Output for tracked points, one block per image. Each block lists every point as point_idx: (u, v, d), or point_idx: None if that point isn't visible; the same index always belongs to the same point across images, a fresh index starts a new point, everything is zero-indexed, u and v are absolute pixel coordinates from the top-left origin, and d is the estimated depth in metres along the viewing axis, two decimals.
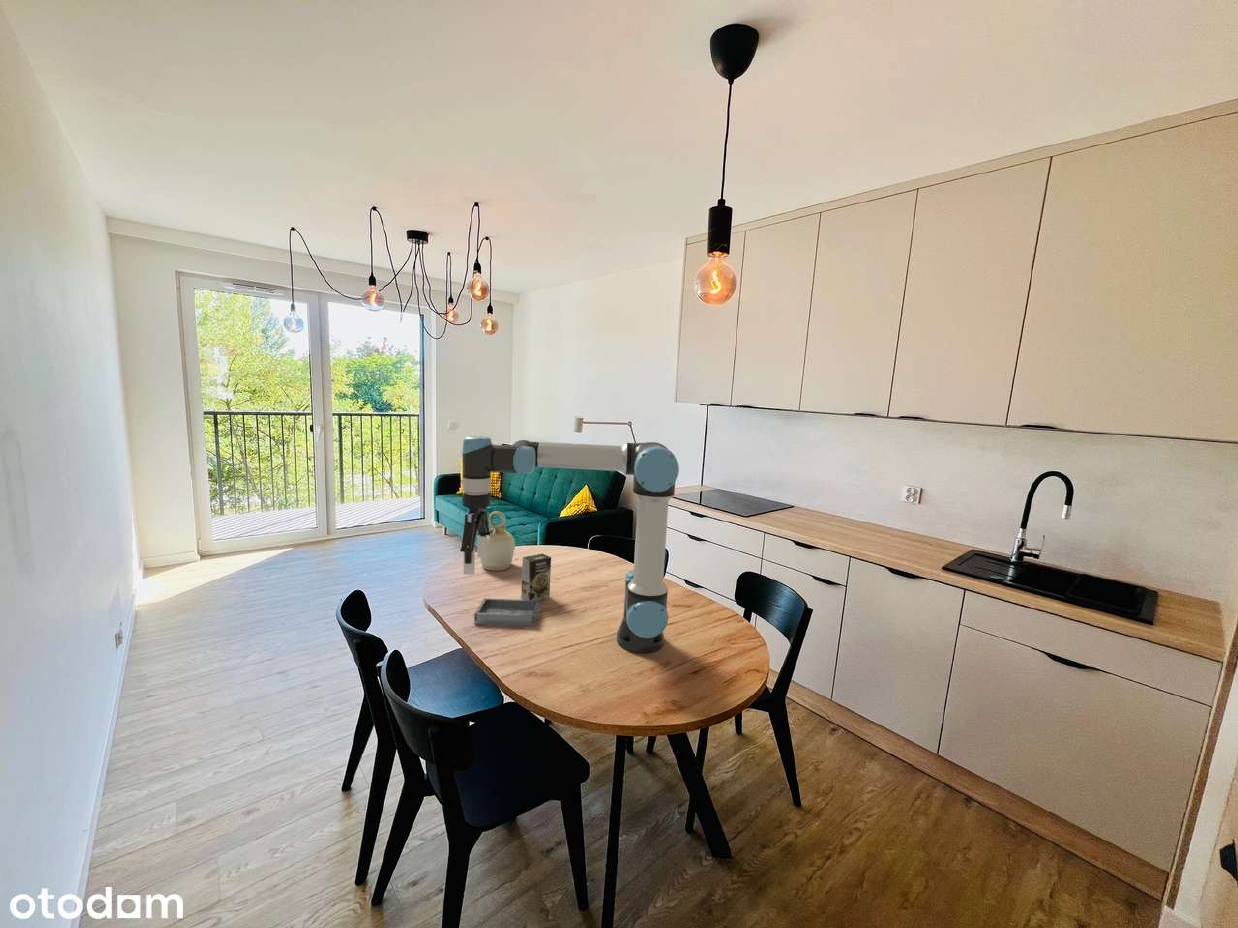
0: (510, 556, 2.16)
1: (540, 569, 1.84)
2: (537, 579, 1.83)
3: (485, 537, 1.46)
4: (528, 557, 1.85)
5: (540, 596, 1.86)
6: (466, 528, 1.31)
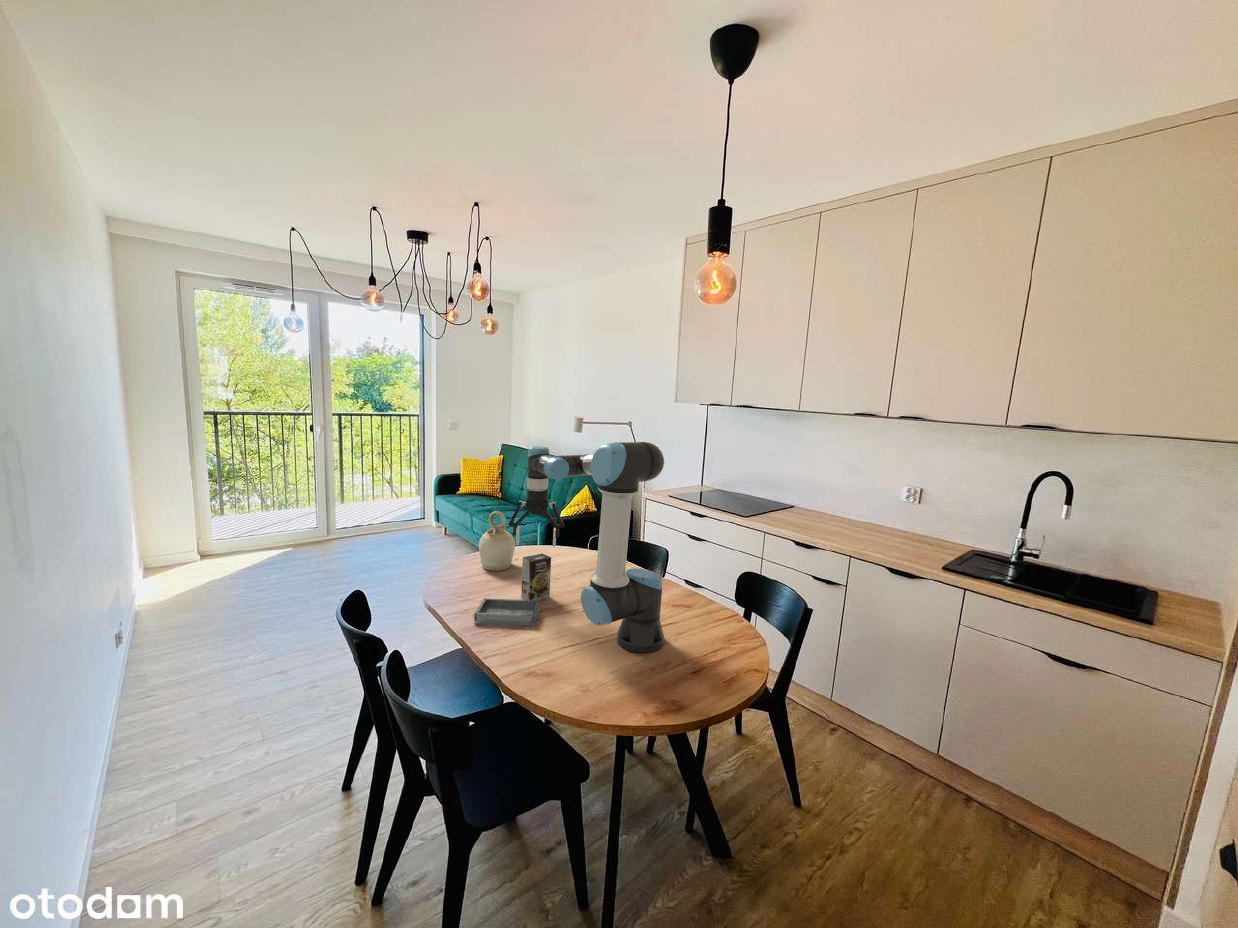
0: (510, 556, 2.16)
1: (540, 569, 1.84)
2: (537, 579, 1.83)
3: (553, 530, 1.83)
4: (528, 557, 1.85)
5: (540, 596, 1.86)
6: None
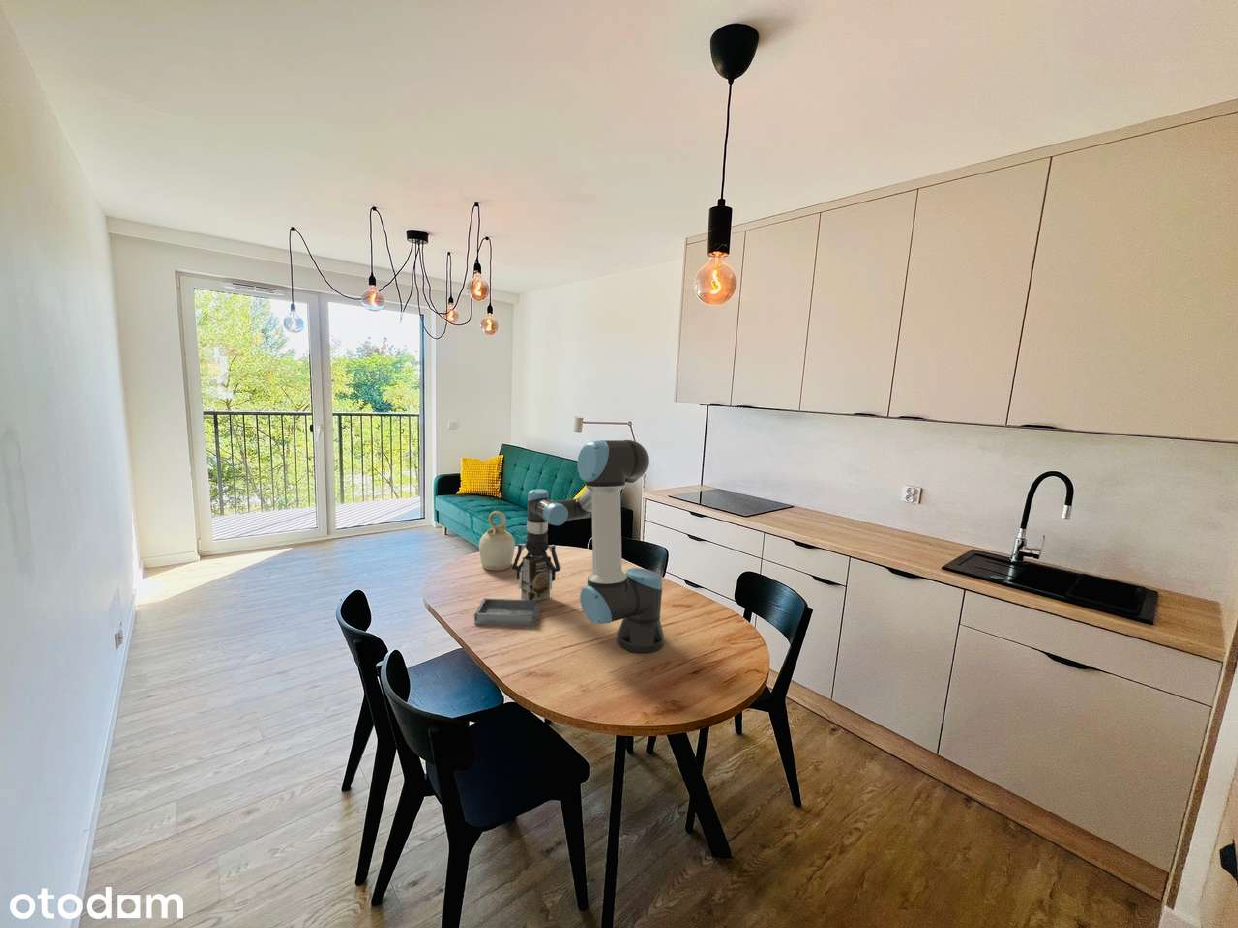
0: (510, 556, 2.16)
1: (540, 569, 1.84)
2: (537, 579, 1.83)
3: (550, 573, 1.86)
4: None
5: (540, 596, 1.86)
6: None
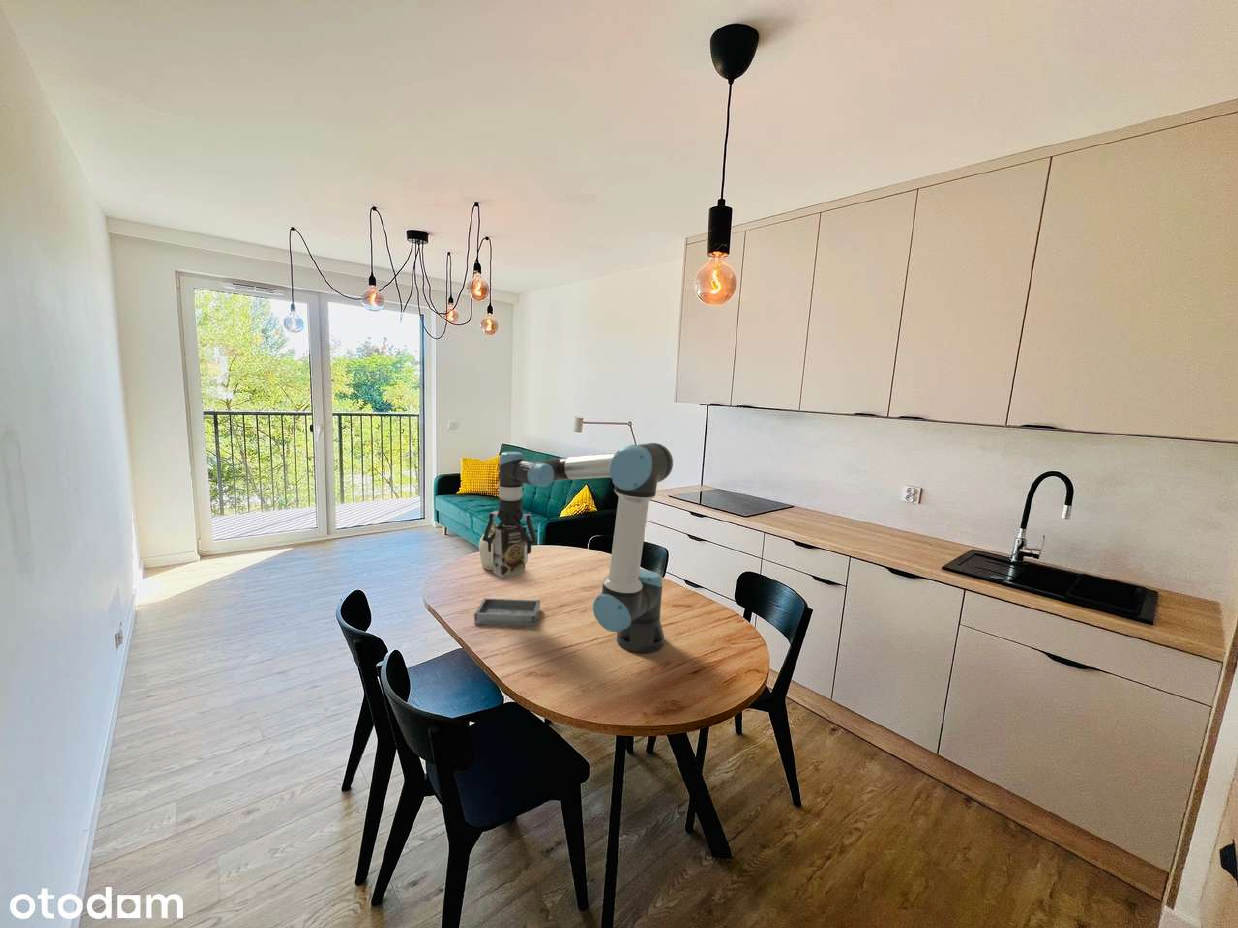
0: None
1: (514, 540, 1.65)
2: (510, 551, 1.65)
3: (525, 545, 1.67)
4: None
5: (514, 571, 1.67)
6: None
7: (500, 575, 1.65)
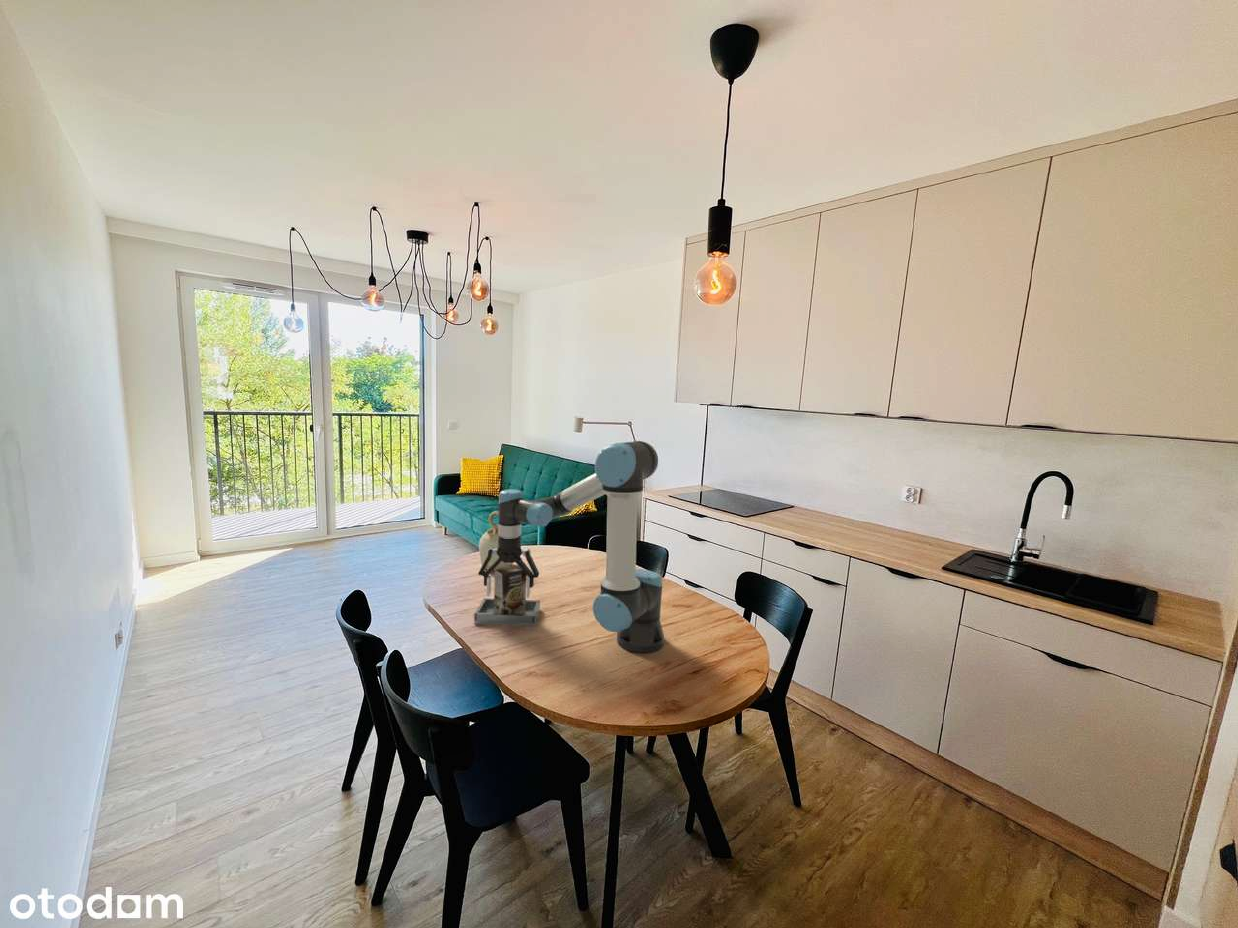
0: None
1: (514, 583, 1.67)
2: (511, 593, 1.67)
3: None
4: (501, 570, 1.68)
5: (515, 612, 1.69)
6: None
7: None
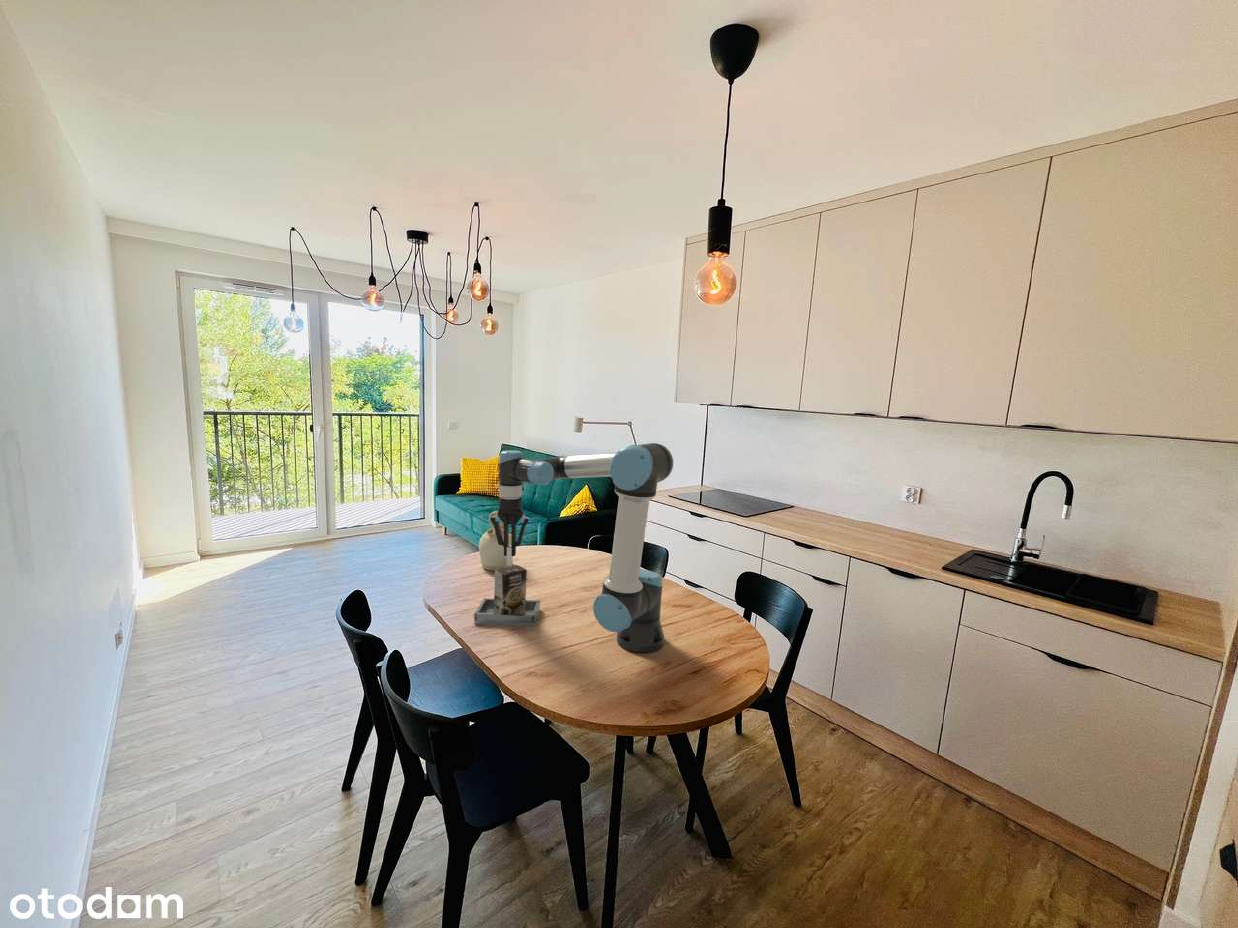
0: None
1: (514, 583, 1.67)
2: (511, 593, 1.67)
3: None
4: (501, 570, 1.68)
5: (515, 612, 1.69)
6: None
7: None
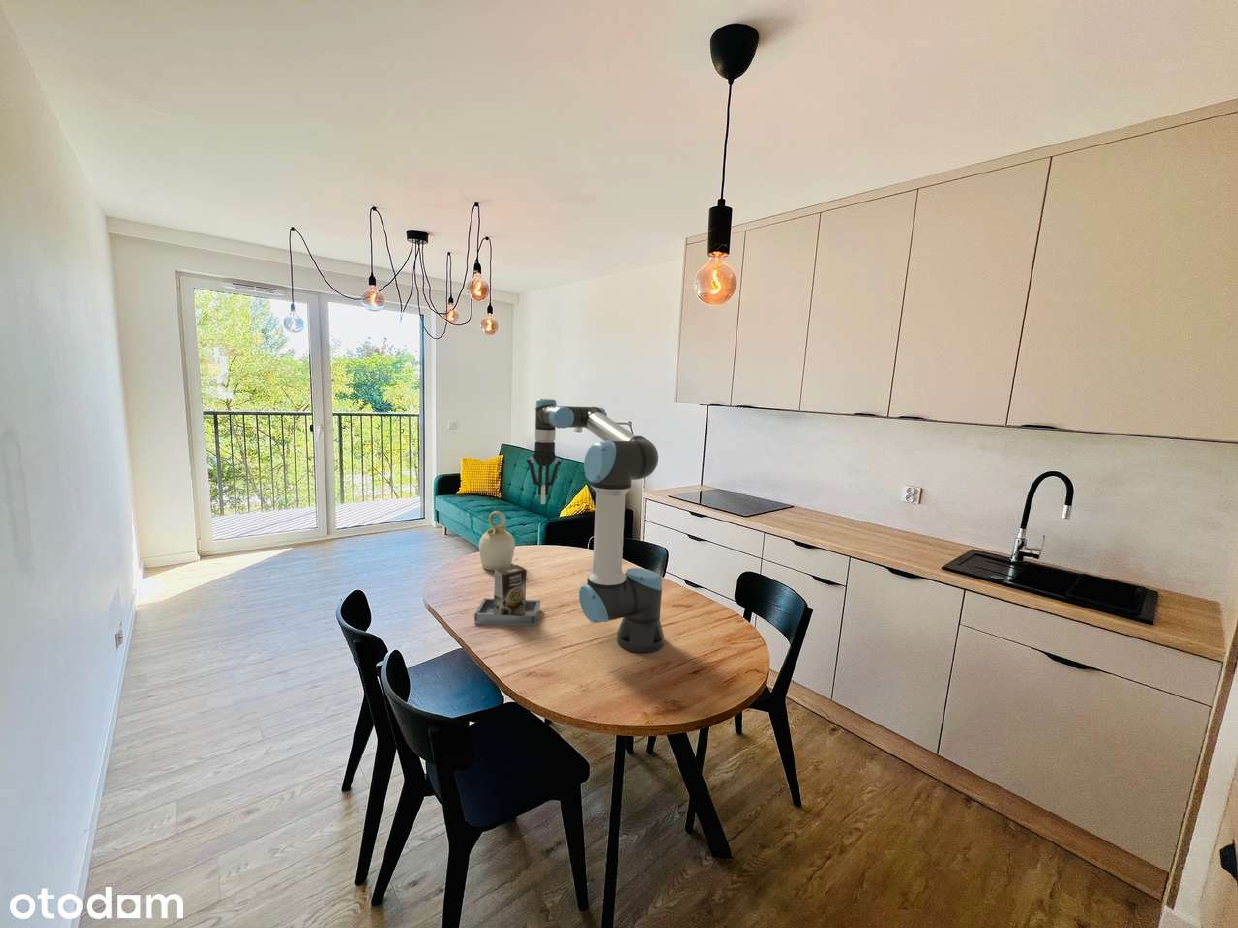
0: (510, 556, 2.16)
1: (514, 583, 1.67)
2: (511, 593, 1.67)
3: None
4: (501, 570, 1.68)
5: (515, 612, 1.69)
6: None
7: None
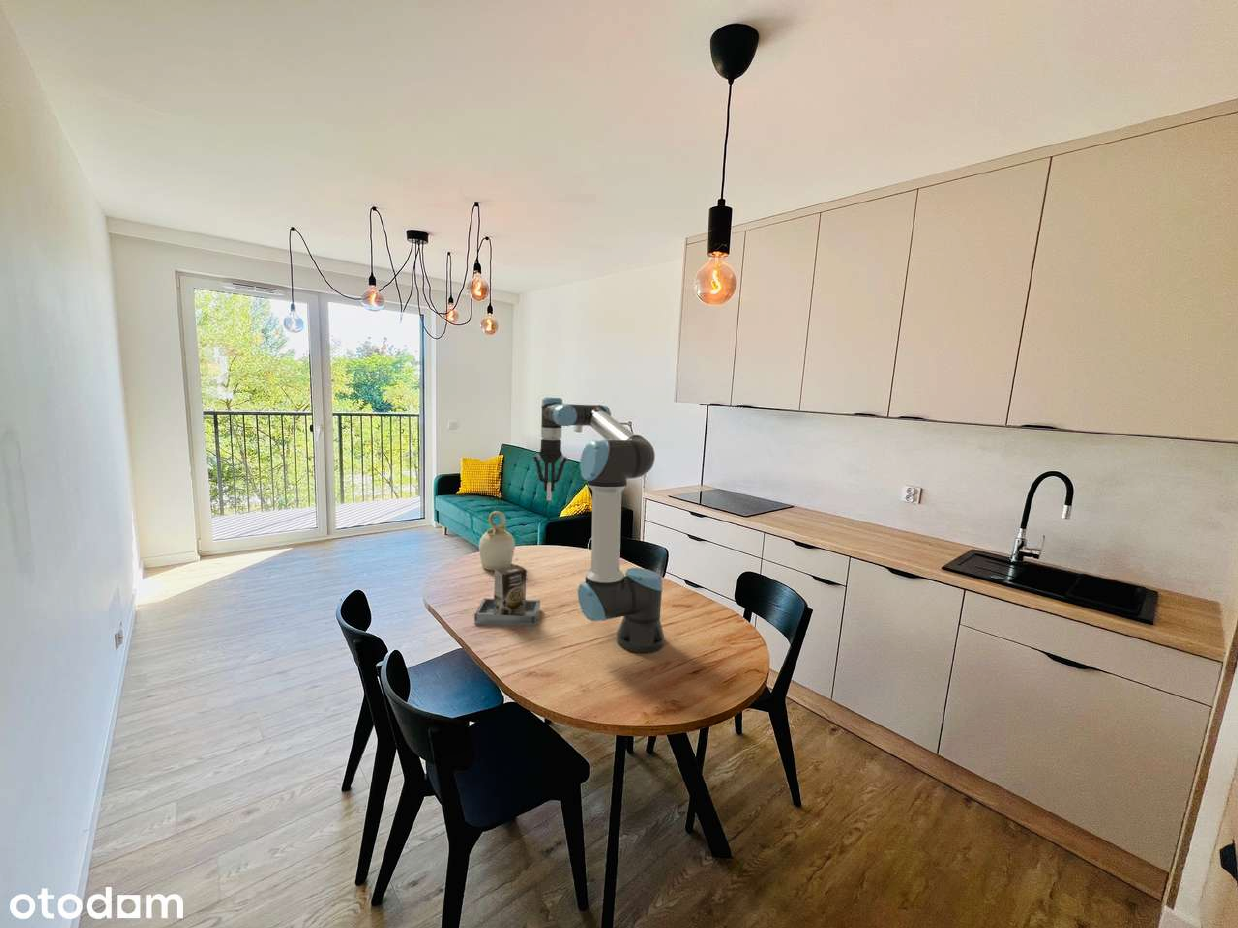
0: (510, 556, 2.16)
1: (514, 583, 1.67)
2: (511, 593, 1.67)
3: (549, 484, 1.89)
4: (501, 570, 1.68)
5: (515, 612, 1.69)
6: None
7: None
